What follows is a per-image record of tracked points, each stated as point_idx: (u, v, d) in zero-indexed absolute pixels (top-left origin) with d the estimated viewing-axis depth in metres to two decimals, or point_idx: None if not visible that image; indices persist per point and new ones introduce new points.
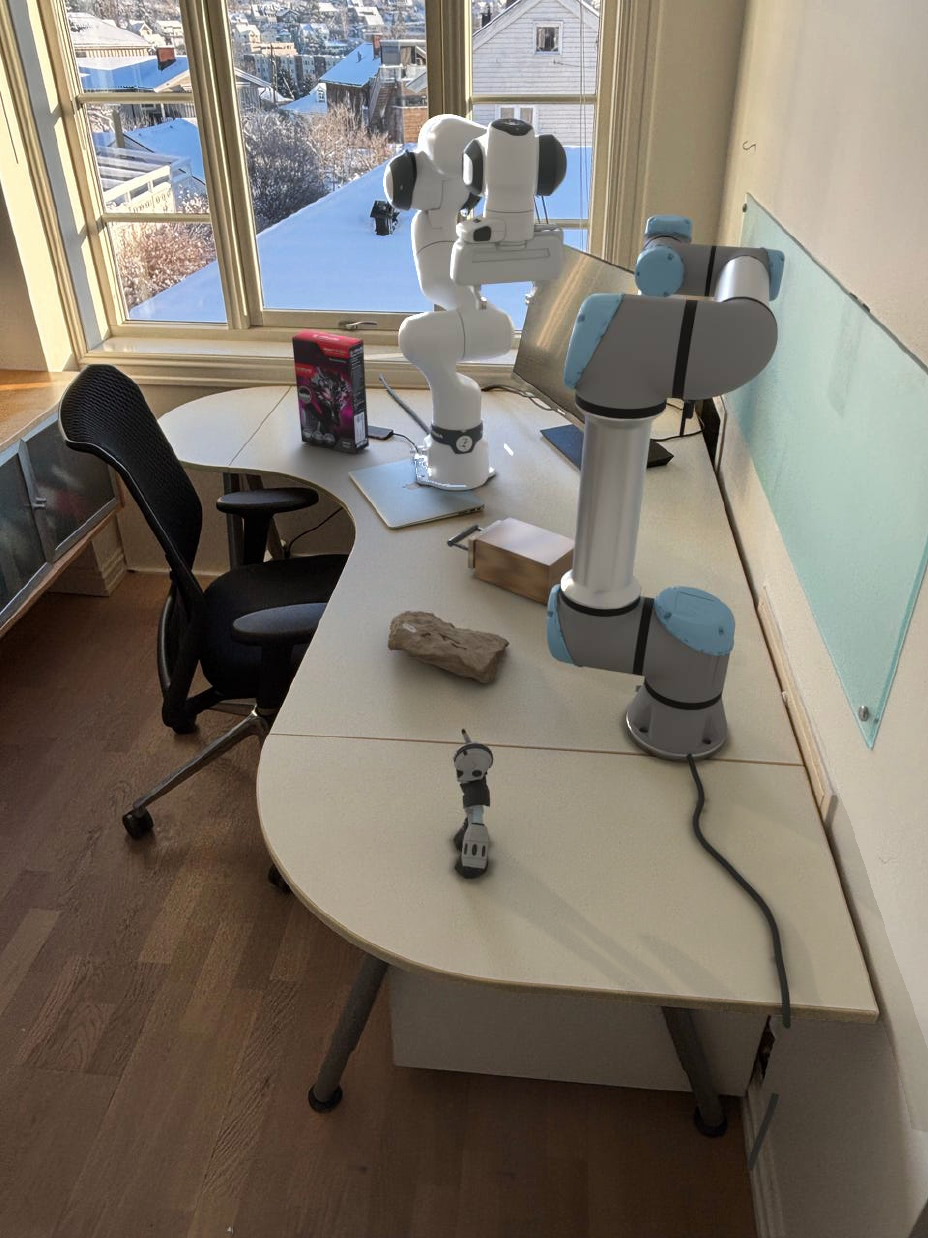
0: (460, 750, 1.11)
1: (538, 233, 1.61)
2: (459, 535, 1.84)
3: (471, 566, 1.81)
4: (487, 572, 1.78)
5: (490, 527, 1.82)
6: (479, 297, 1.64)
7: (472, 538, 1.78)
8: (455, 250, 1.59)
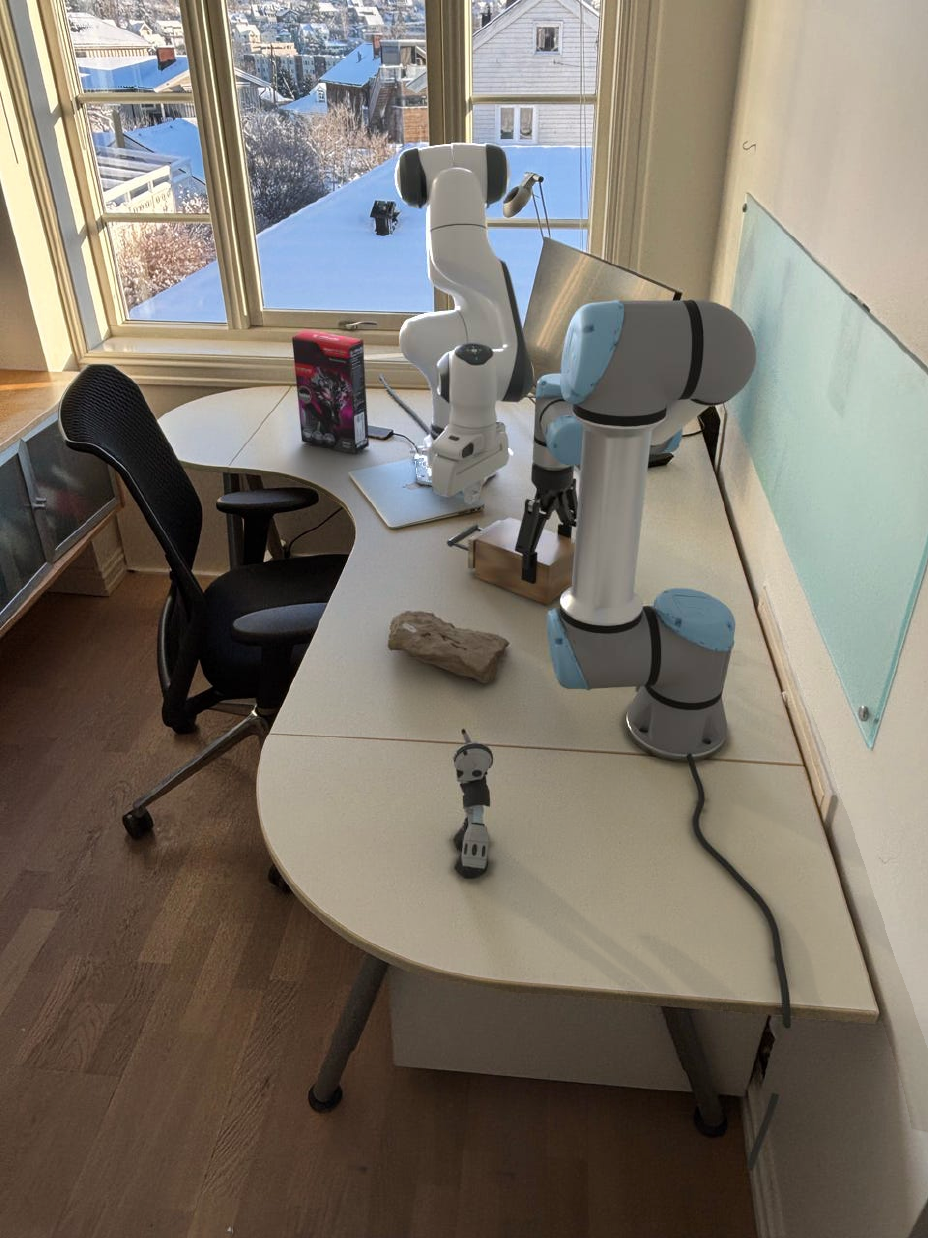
0: (460, 750, 1.11)
1: None
2: (459, 535, 1.84)
3: (471, 566, 1.81)
4: (487, 572, 1.78)
5: (490, 527, 1.82)
6: (471, 493, 1.77)
7: (472, 538, 1.78)
8: (440, 468, 1.68)
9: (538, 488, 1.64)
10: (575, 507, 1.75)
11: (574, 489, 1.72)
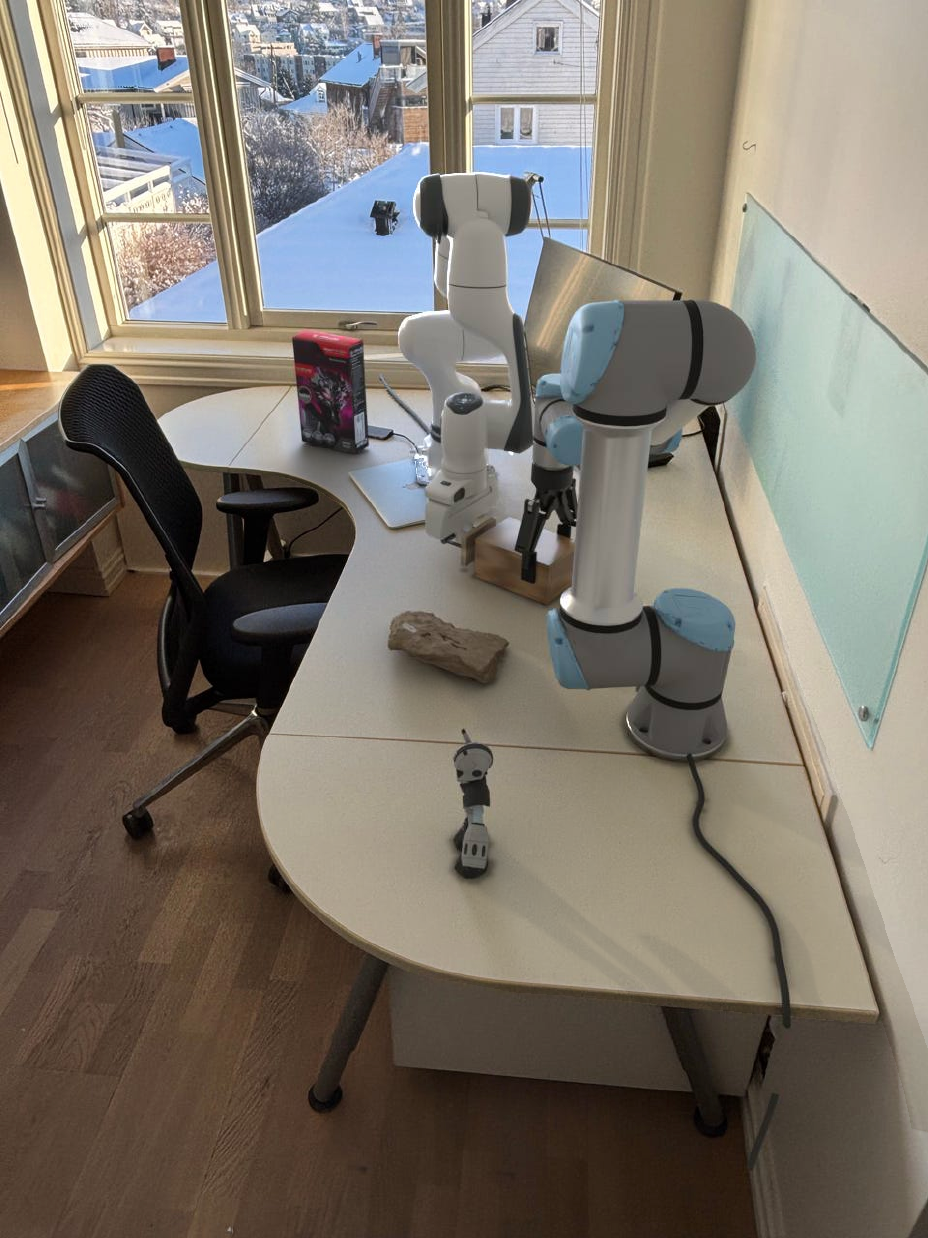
0: (460, 750, 1.11)
1: None
2: None
3: (464, 563, 1.82)
4: (486, 572, 1.78)
5: (483, 524, 1.83)
6: (462, 534, 1.84)
7: (465, 535, 1.79)
8: (433, 512, 1.75)
9: (538, 488, 1.64)
10: (575, 507, 1.75)
11: (574, 489, 1.72)
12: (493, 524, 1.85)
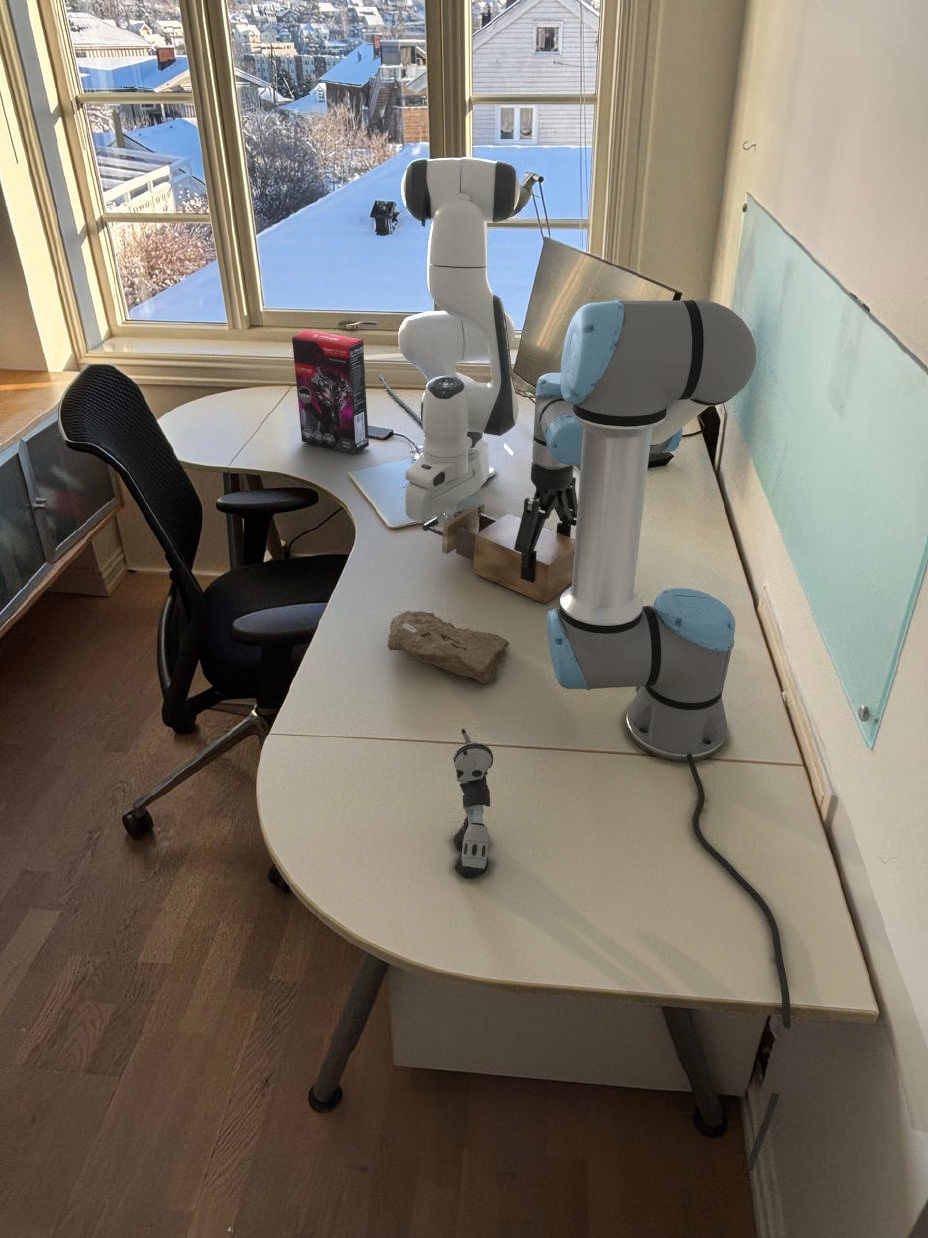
0: (460, 750, 1.11)
1: None
2: (434, 520, 1.87)
3: (445, 551, 1.84)
4: (485, 568, 1.78)
5: (465, 513, 1.85)
6: (444, 517, 1.85)
7: (447, 523, 1.81)
8: (413, 495, 1.76)
9: (538, 487, 1.64)
10: (574, 506, 1.75)
11: (573, 488, 1.72)
12: (475, 513, 1.87)
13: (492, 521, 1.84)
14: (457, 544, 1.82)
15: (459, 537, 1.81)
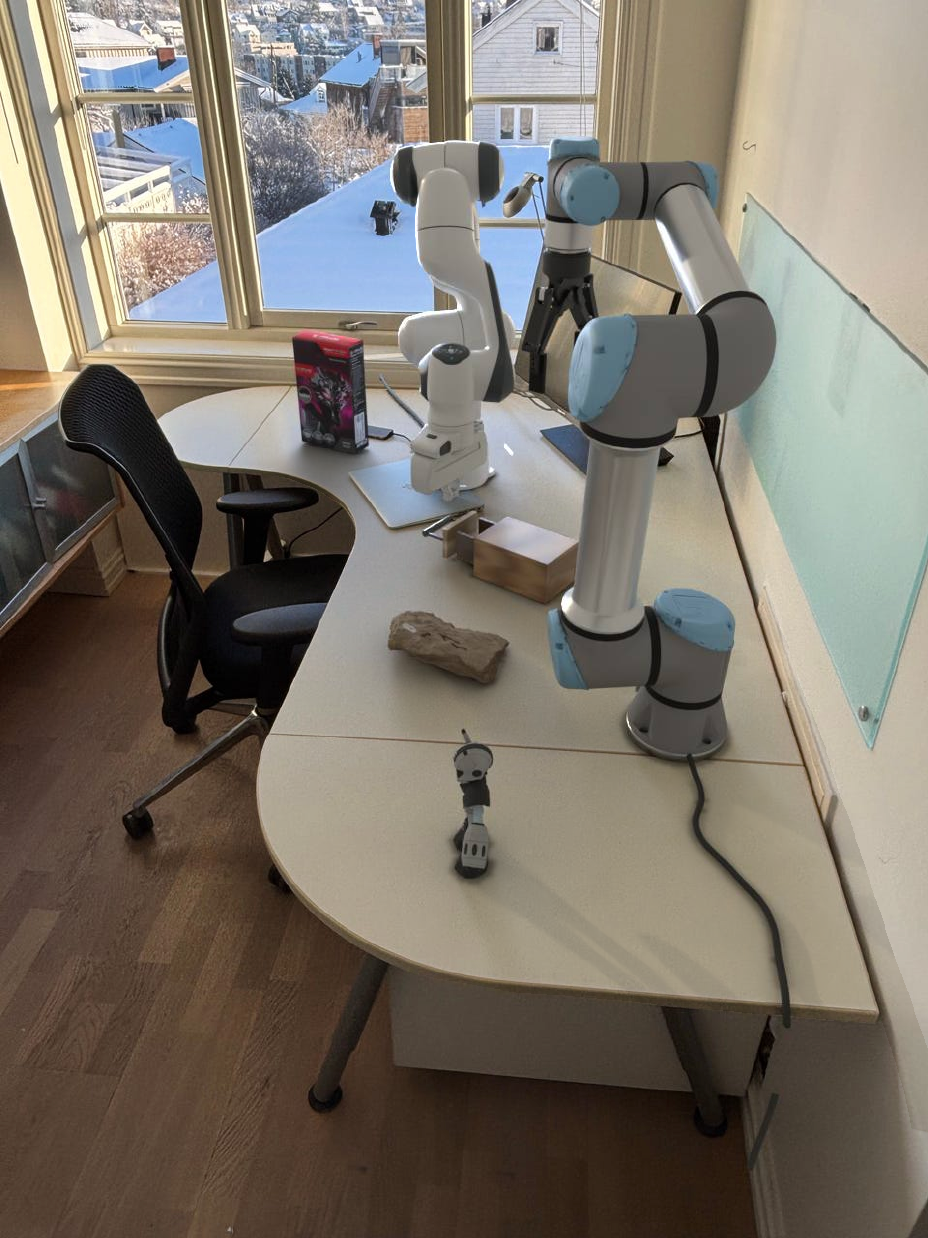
0: (460, 750, 1.11)
1: None
2: (434, 525, 1.88)
3: (445, 556, 1.84)
4: (485, 571, 1.79)
5: (464, 517, 1.85)
6: (450, 491, 1.80)
7: (446, 528, 1.81)
8: (418, 466, 1.71)
9: (551, 277, 1.44)
10: (593, 310, 1.55)
11: (591, 287, 1.51)
12: (474, 517, 1.87)
13: (491, 524, 1.84)
14: (457, 548, 1.83)
15: (459, 541, 1.81)
